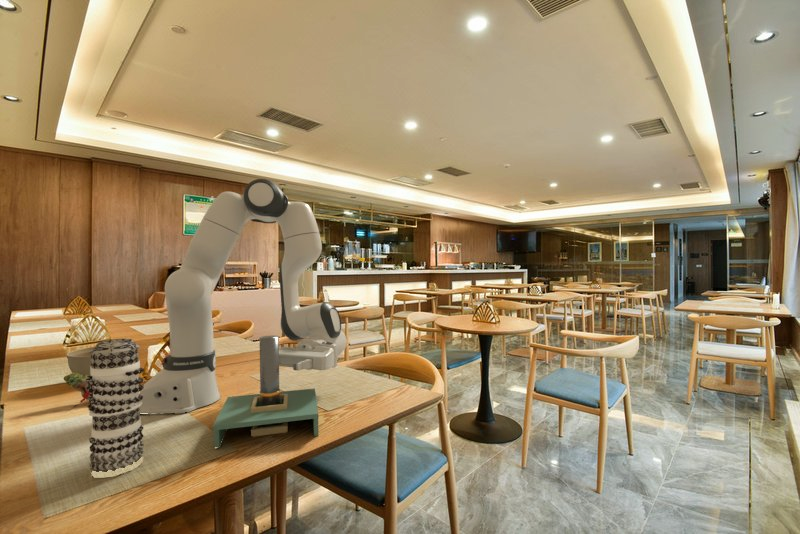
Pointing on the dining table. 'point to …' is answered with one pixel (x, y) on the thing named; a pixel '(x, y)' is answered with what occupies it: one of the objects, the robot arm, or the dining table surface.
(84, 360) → the planter bowl
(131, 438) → the decorative candle
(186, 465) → the dining table surface
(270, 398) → the air tube
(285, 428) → the green slotted stand
